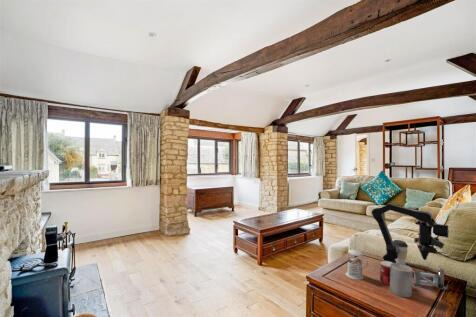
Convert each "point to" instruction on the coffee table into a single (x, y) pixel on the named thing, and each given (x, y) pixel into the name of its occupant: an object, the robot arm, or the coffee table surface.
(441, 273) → the hinge post
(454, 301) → the coffee table surface
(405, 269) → the pillar candle
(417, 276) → the latch stile
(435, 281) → the gate
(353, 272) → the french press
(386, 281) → the canned food
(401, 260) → the coffee cup
